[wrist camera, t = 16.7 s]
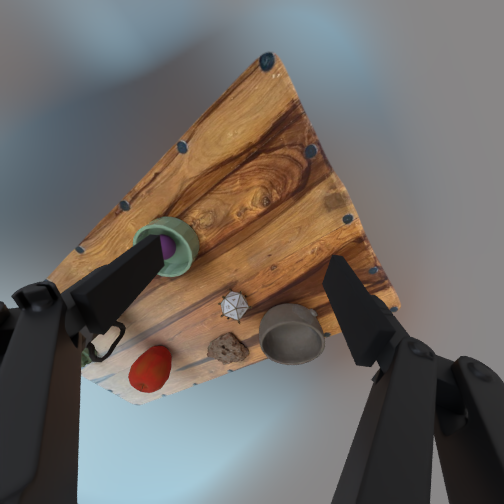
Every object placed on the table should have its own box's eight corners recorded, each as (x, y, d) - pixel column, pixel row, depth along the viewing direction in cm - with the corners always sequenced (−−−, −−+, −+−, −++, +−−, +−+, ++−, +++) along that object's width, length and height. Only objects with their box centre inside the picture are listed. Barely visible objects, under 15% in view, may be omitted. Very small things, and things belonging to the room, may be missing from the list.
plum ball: (160, 229, 46) (140, 235, 41) (181, 234, 44) (162, 241, 39) (162, 252, 48) (142, 260, 43) (181, 257, 47) (164, 266, 41)
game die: (238, 281, 56) (242, 284, 47) (252, 305, 57) (260, 313, 47) (212, 298, 55) (211, 305, 45) (227, 323, 55) (230, 335, 45)
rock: (230, 329, 62) (228, 339, 58) (253, 351, 67) (253, 361, 63) (199, 344, 66) (195, 354, 63) (223, 363, 71) (221, 374, 68)
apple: (183, 346, 68) (164, 390, 55) (173, 362, 73) (154, 405, 61) (150, 333, 65) (123, 376, 53) (142, 351, 71) (116, 393, 58)
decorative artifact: (67, 339, 70) (73, 354, 75) (48, 357, 64) (56, 373, 69) (94, 344, 71) (99, 359, 76) (78, 363, 65) (84, 378, 69)
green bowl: (141, 213, 44) (126, 221, 39) (198, 219, 44) (190, 228, 39) (151, 261, 50) (139, 273, 46) (200, 267, 50) (193, 279, 45)
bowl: (311, 288, 51) (320, 317, 42) (321, 331, 59) (330, 362, 50) (251, 300, 55) (248, 329, 46) (268, 339, 63) (268, 370, 54)
